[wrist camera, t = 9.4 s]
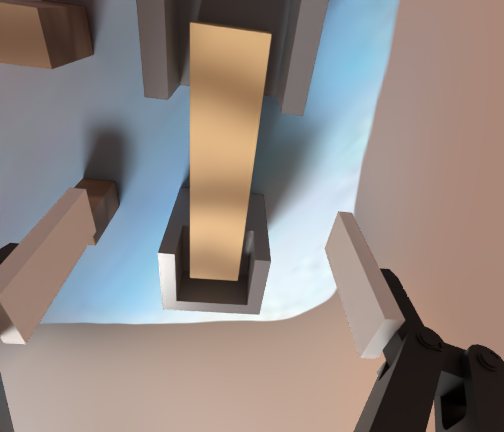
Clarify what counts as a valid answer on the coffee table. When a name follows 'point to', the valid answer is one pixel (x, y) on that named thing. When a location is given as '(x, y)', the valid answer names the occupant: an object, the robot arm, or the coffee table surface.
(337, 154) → the coffee table surface
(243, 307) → the end caps
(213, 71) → the slat
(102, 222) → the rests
